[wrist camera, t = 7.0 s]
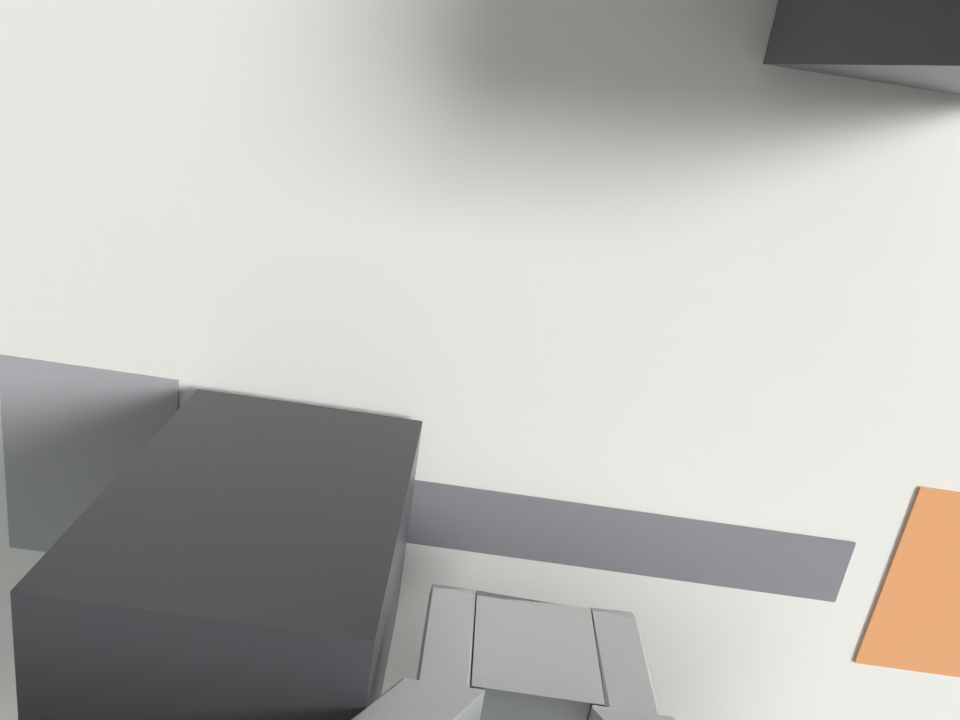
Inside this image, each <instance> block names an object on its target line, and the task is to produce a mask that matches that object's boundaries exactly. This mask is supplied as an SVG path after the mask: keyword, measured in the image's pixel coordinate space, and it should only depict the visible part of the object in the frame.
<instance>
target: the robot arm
mask: <svg viewBox="0 0 960 720" xmlns="http://www.w3.org/2000/svg"><path fill="white" fill-rule="evenodd" d="M351 720H675V719H674V718H673V717H672V716H665V715H659V711H658V707H657V702H656V698H655V694H654V690H653V686H652V682H651V677H650V673H649V669H648V665H647V661H646V656H645V652H644V648H643V644H642V640H641V636H640V631H639V627H638V623H637V619H636V617H635V616H634V615H633V614H632V612H626V611H617V610H608V609H599V608H590V607H589V608H582V607H574V606H567V605H560V604H555V603H549V602H543V601H537V600H531V599H525V598H519V597H513V596H507V595H501V594H495V593H489V592H483V591H478V590H476V593H475V592H474V590H472V589H465V588H458V587H451V586H444V585H437V584H432V587H431V589H430V593H429V600H428V606H427V613H426V619H425V626H424V632H423V639H422V645H421V652H420V658H419V665H418V671H417V678H416V680H415V679H407V678H403V679H401V680H400V681H399V682H398V683H396V684H395V685H394V686H393V687H391V688H390V689H389V690H388V691H386V692H385V693H384V694H383V695H381V696H380V697H379V698H378V699H376V700H375V701H374V702H373V703H371V704H370V705H369V706H368V707H366V708H365V709H364V710H363V711H361V712H360V713H359V714H358V715H356V716H355V717H354V718H353V719H351Z"/></svg>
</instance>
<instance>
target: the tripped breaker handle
mask: <svg viewBox="0 0 960 720" xmlns="http://www.w3.org/2000/svg"><path fill="white" fill-rule="evenodd" d="M422 422H423V421H418V420H411V419H404V418H397V417H390V416H383V415H376V414H369V413H362V412H355V411H348V410H341V409H334V408H328V407H321V406H314V405H307V404H300V403H293V402H286V401H279V400H272V399H265V398H258V397H251V396H244V395H237V394H230V393H223V392H216V391H209V390H202V389H197V390H196V391H195V392H194V393H193V395H192V396H191V397H190V398H189V399H188V400H187V401H186V402H185V403H184V404H183V405H182V406H181V407H180V409H179V410H178V411H177V412H176V413H175V414H174V415H173V416H172V417H171V418H170V419H169V420H168V422H167V423H166V424H165V425H164V426H163V427H162V428H161V429H160V430H159V431H158V432H157V433H156V434H155V436H154V437H153V438H152V439H151V440H150V441H149V442H148V443H147V444H146V445H145V446H144V447H143V448H142V450H141V451H140V452H139V453H138V454H137V455H136V456H135V457H134V458H133V459H132V460H131V461H130V463H129V464H128V465H127V466H126V467H125V468H124V469H123V470H122V471H121V472H120V473H119V474H118V475H117V477H116V478H115V479H114V480H113V481H112V482H111V483H110V484H109V485H108V486H107V487H106V488H105V489H104V491H103V492H102V493H101V494H100V495H99V496H98V497H97V498H96V499H95V500H94V501H93V502H92V504H91V505H90V506H89V507H88V508H87V509H86V510H85V511H84V512H83V513H82V514H81V515H80V516H79V518H78V519H77V520H76V521H75V522H74V523H73V524H72V525H71V526H70V527H69V528H68V529H67V530H66V532H65V533H64V534H63V535H62V536H61V537H60V538H59V539H58V540H57V541H56V542H55V543H54V545H53V546H52V547H51V548H50V549H49V550H48V551H47V552H46V553H45V554H44V555H43V556H42V557H41V559H40V560H39V561H38V562H37V563H36V564H35V565H34V566H33V567H32V568H31V569H30V570H29V571H28V573H27V574H26V575H25V576H24V577H23V578H22V579H21V580H20V581H19V582H18V583H17V584H16V586H15V587H14V588H13V589H12V590H11V591H10V598H11V613H12V629H13V645H14V661H15V677H16V693H17V709H18V720H351V719H353V718H354V717H355V716H356V715H358V714H359V713H360V712H361V711H363V710H364V709H365V708H366V707H368V706H369V705H370V704H371V703H373V702H374V701H375V700H376V699H378V698H379V697H380V696H381V693H382V688H383V683H384V677H385V672H386V667H387V661H388V656H389V651H390V646H391V640H392V635H393V630H394V624H395V619H396V614H397V609H398V602H399V594H400V587H401V579H402V572H403V564H404V557H405V549H406V542H407V534H408V527H409V519H410V512H411V504H412V497H413V489H414V482H415V474H416V467H417V459H418V452H419V444H420V437H421V429H422Z"/></svg>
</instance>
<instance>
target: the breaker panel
mask: <svg viewBox="0 0 960 720" xmlns="http://www.w3.org/2000/svg"><path fill="white" fill-rule="evenodd" d="M777 4H778V0H0V720H18V709H17V693H16V677H15V661H14V645H13V629H12V613H11V598H10V591H11V590H12V589H13V588H14V587H15V586H16V584H17V583H18V582H19V581H20V580H21V579H22V578H23V577H24V576H25V575H26V574H27V573H28V571H29V570H30V569H31V568H32V567H33V566H34V565H35V564H36V563H37V562H38V561H39V560H40V559H41V557H42V556H43V555H44V554H45V553H46V552H47V551H48V550H49V549H50V548H51V547H52V546H53V545H54V543H55V542H56V541H57V540H58V539H59V538H60V537H61V536H62V535H63V534H64V533H65V532H66V530H67V529H68V528H69V527H70V526H71V525H72V524H73V523H74V522H75V521H76V520H77V519H78V518H79V516H80V515H81V514H82V513H83V512H84V511H85V510H86V509H87V508H88V507H89V506H90V505H91V504H92V502H93V501H94V500H95V499H96V498H97V497H98V496H99V495H100V494H101V493H102V492H103V491H104V489H105V488H106V487H107V486H108V485H109V484H110V483H111V482H112V481H113V480H114V479H115V478H116V477H117V475H118V474H119V473H120V472H121V471H122V470H123V469H124V468H125V467H126V466H127V465H128V464H129V463H130V461H131V460H132V459H133V458H134V457H135V456H136V455H137V454H138V453H139V452H140V451H141V450H142V448H143V447H144V446H145V445H146V444H147V443H148V442H149V441H150V440H151V439H152V438H153V437H154V436H155V434H156V433H157V432H158V431H159V430H160V429H161V428H162V427H163V426H164V425H165V424H166V423H167V422H168V420H169V419H170V418H171V417H172V416H173V415H174V414H175V413H176V412H177V411H178V410H179V409H180V407H181V406H182V405H183V404H184V403H185V402H186V401H187V400H188V399H189V398H190V397H191V396H192V395H193V393H194V392H195V391H196V390H197V389H202V390H209V391H216V392H223V393H230V394H237V395H244V396H251V397H258V398H265V399H272V400H279V401H286V402H293V403H300V404H307V405H314V406H321V407H328V408H334V409H341V410H348V411H355V412H362V413H369V414H376V415H383V416H390V417H397V418H404V419H411V420H418V421H423V422H422V429H421V437H420V444H419V452H418V459H417V467H416V474H415V482H414V489H413V497H412V504H411V512H410V519H409V527H408V534H407V542H406V549H405V557H404V564H403V572H402V579H401V587H400V594H399V602H398V609H397V614H396V619H395V624H394V630H393V635H392V640H391V646H390V651H389V656H388V661H387V667H386V672H385V677H384V683H383V688H382V693H381V695H383V694H384V693H385V692H386V691H388V690H389V689H390V688H391V687H393V686H394V685H395V684H396V683H398V682H399V681H400V680H401V679H403V678H407V679H415V680H416V678H417V671H418V665H419V658H420V652H421V645H422V639H423V632H424V626H425V619H426V613H427V606H428V600H429V593H430V589H431V587H432V584H437V585H444V586H451V587H458V588H465V589H472V590H474V592H475V593H476V590H478V591H483V592H489V593H495V594H501V595H507V596H513V597H519V598H525V599H531V600H537V601H543V602H549V603H555V604H560V605H567V606H574V607H582V608H589V607H590V608H599V609H608V610H617V611H626V612H632V614H633V615H634V616H635V617H636V619H637V623H638V627H639V631H640V636H641V640H642V644H643V648H644V652H645V656H646V661H647V665H648V669H649V673H650V677H651V682H652V686H653V690H654V694H655V698H656V702H657V707H658V711H659V715H665V716H672V717H673V718H674V719H675V720H960V95H957V94H951V93H944V92H938V91H932V90H925V89H919V88H913V87H906V86H900V85H893V84H887V83H881V82H874V81H868V80H861V79H855V78H849V77H842V76H836V75H830V74H823V73H817V72H810V71H804V70H798V69H791V68H785V67H779V66H772V65H766V64H763V60H764V56H765V52H766V48H767V44H768V40H769V36H770V32H771V28H772V24H773V20H774V16H775V12H776V8H777Z"/></svg>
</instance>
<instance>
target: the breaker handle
mask: <svg viewBox="0 0 960 720" xmlns="http://www.w3.org/2000/svg"><path fill="white" fill-rule="evenodd" d="M763 64H766V65H772V66H779V67H785V68H791V69H798V70H804V71H810V72H817V73H823V74H830V75H836V76H842V77H849V78H855V79H861V80H868V81H874V82H881V83H887V84H893V85H900V86H906V87H913V88H919V89H925V90H932V91H938V92H944V93H951V94H957V95H960V0H778V4H777V8H776V12H775V16H774V20H773V24H772V28H771V32H770V36H769V40H768V44H767V48H766V52H765V56H764V60H763Z"/></svg>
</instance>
